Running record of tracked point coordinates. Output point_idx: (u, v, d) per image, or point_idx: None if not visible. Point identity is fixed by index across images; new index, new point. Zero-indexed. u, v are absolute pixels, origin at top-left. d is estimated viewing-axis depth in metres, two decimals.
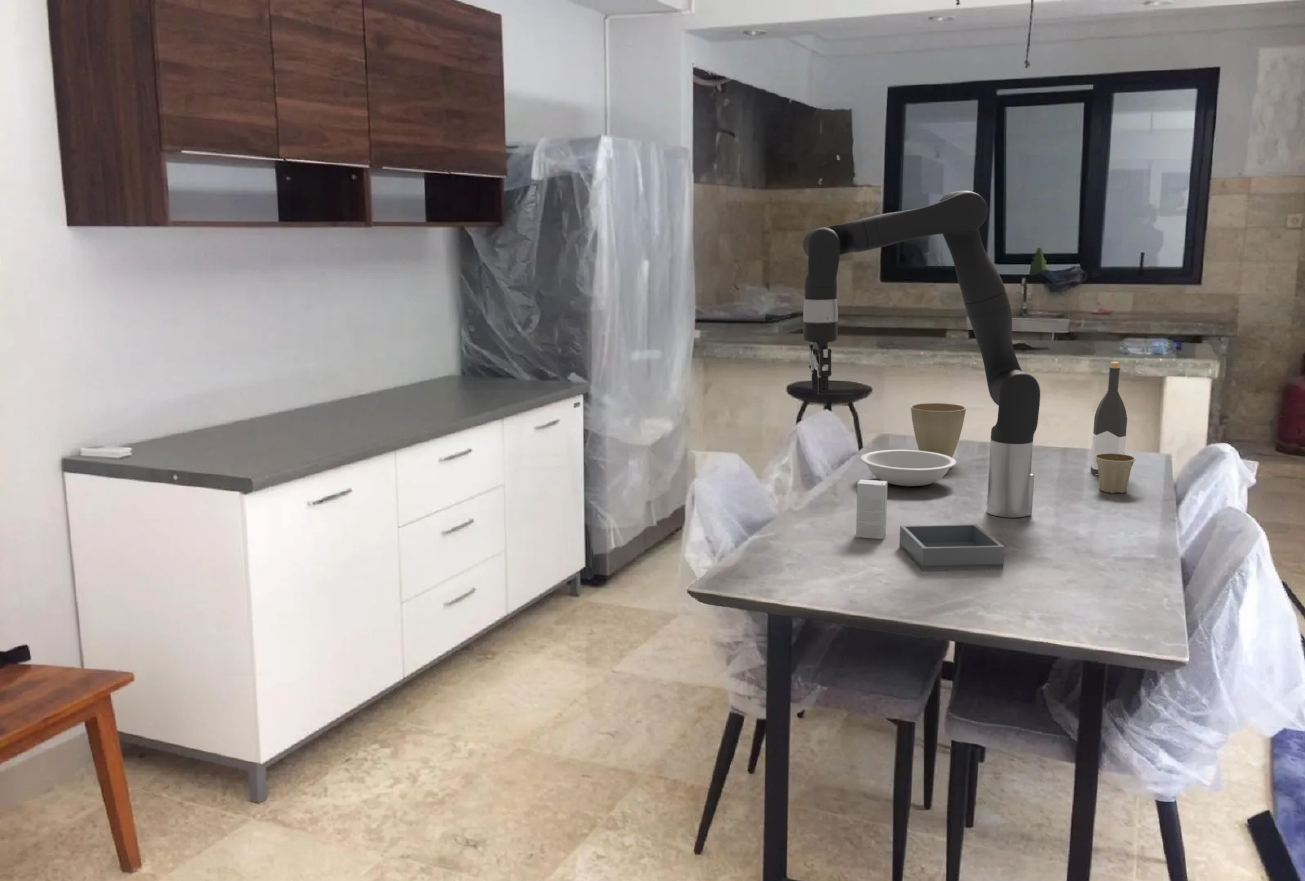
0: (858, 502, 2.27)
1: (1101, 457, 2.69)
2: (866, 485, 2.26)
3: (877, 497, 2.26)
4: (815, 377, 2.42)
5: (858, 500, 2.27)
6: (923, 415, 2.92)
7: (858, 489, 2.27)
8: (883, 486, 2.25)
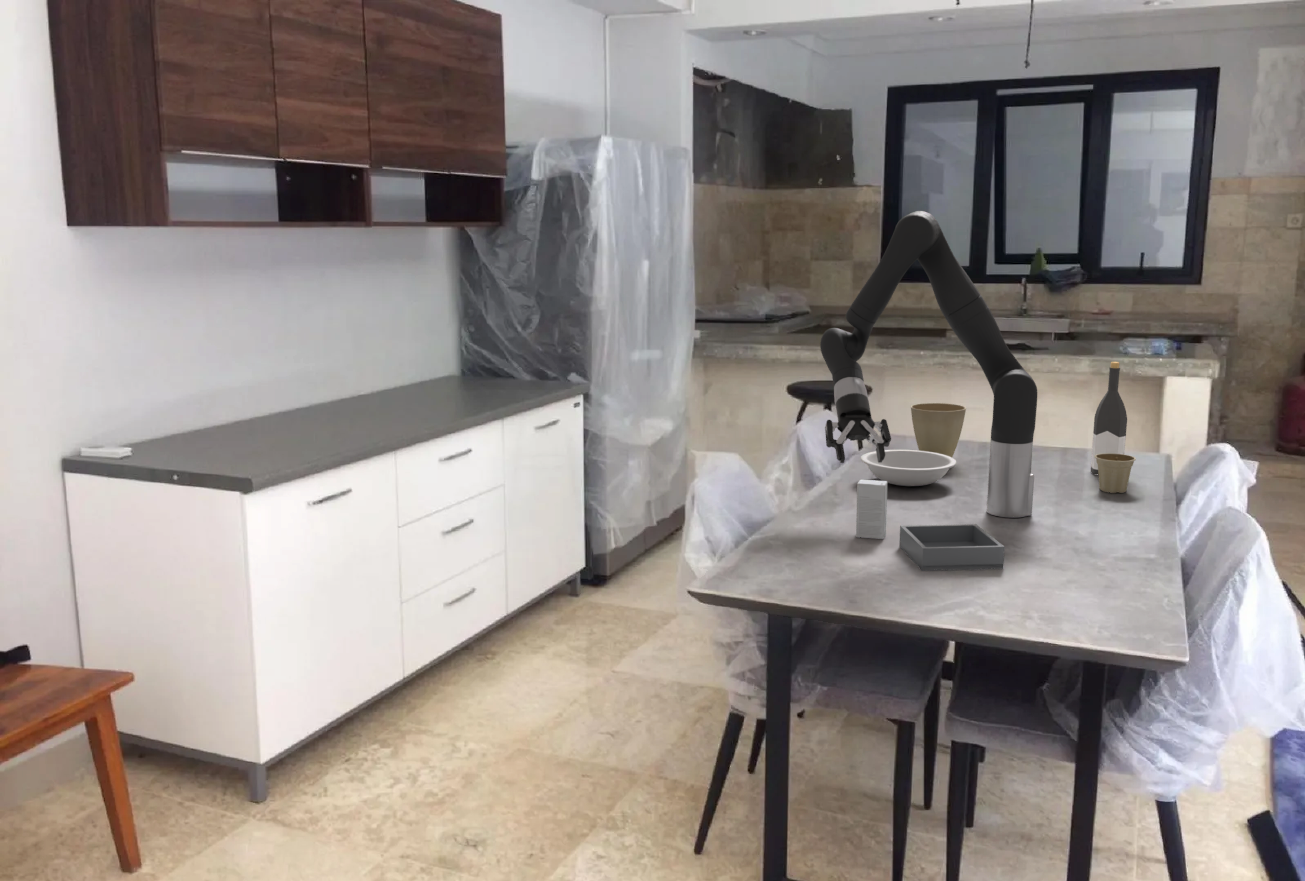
0: (858, 502, 2.27)
1: (1101, 457, 2.69)
2: (866, 485, 2.26)
3: (877, 497, 2.26)
4: (877, 450, 2.38)
5: (858, 500, 2.27)
6: (923, 415, 2.92)
7: (858, 489, 2.27)
8: (883, 486, 2.25)
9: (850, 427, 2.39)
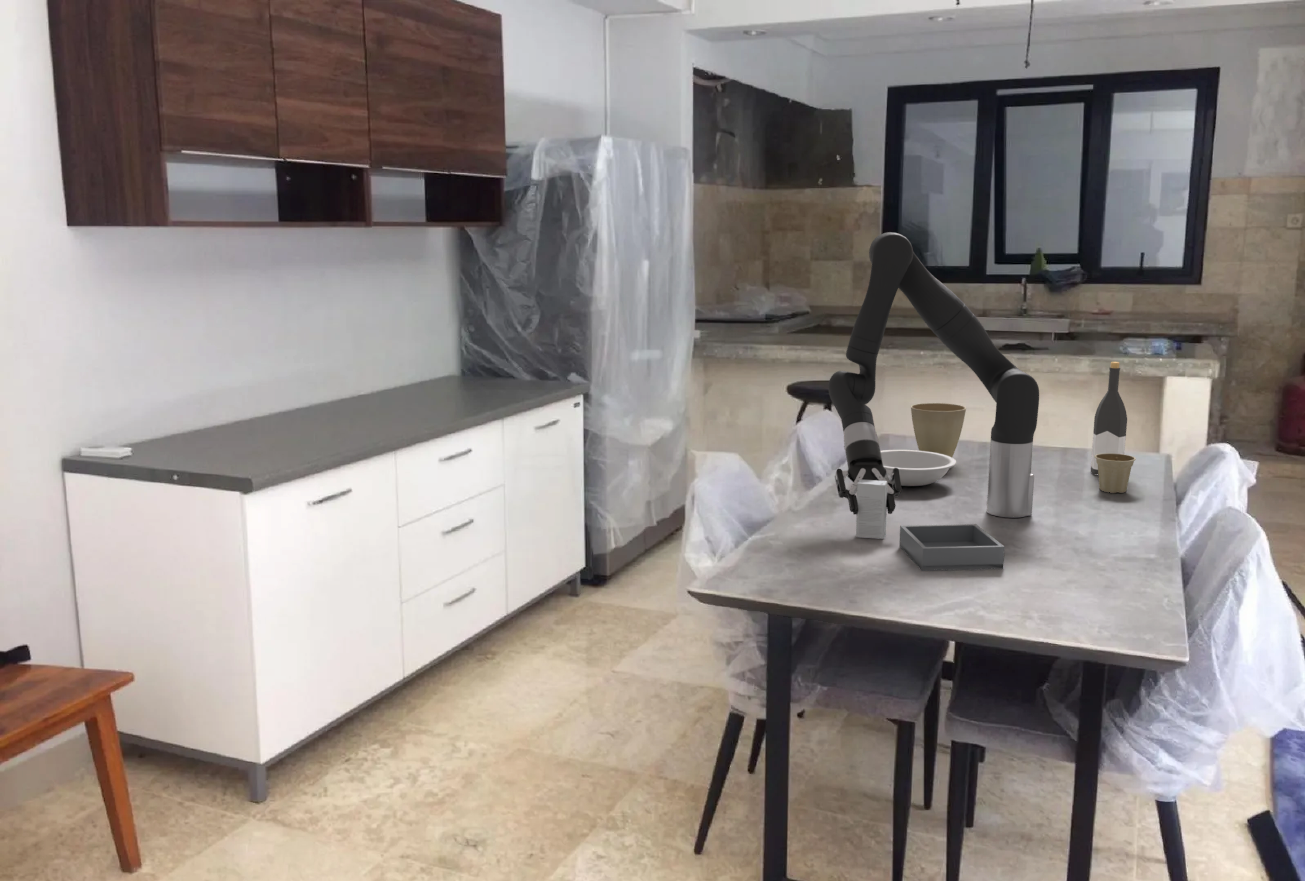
0: (858, 502, 2.27)
1: (1101, 457, 2.69)
2: (866, 485, 2.26)
3: (876, 497, 2.26)
4: None
5: (858, 500, 2.27)
6: (923, 415, 2.92)
7: (858, 489, 2.27)
8: (883, 486, 2.25)
9: (861, 475, 2.30)
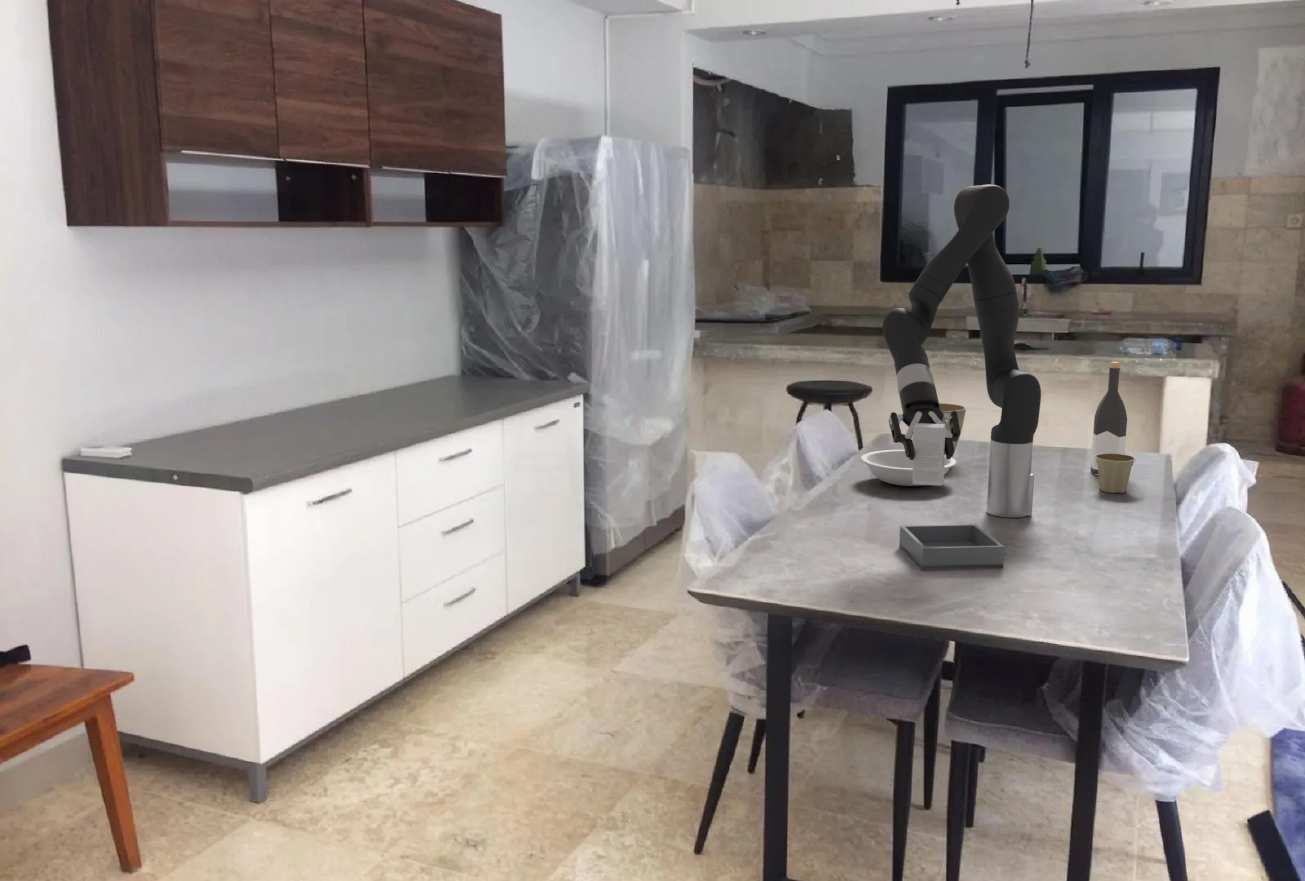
0: (914, 446, 2.14)
1: (1101, 457, 2.69)
2: (923, 428, 2.13)
3: (934, 441, 2.12)
4: (945, 446, 2.16)
5: (914, 444, 2.14)
6: None
7: (914, 433, 2.13)
8: (941, 429, 2.11)
9: (917, 419, 2.17)
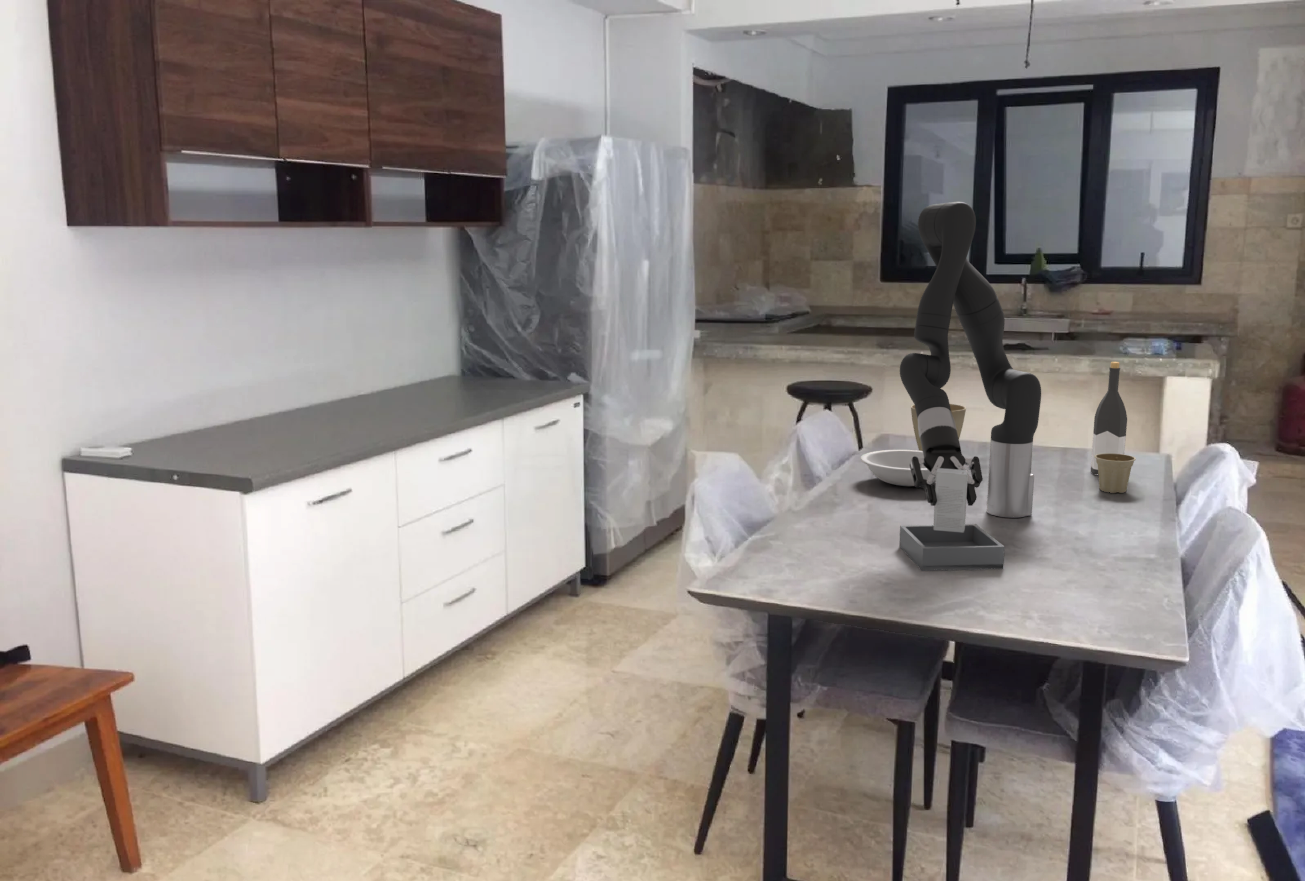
0: (937, 492, 2.11)
1: (1101, 457, 2.69)
2: (946, 474, 2.10)
3: (957, 488, 2.09)
4: None
5: (937, 490, 2.11)
6: None
7: (937, 478, 2.10)
8: (965, 475, 2.09)
9: (939, 464, 2.14)
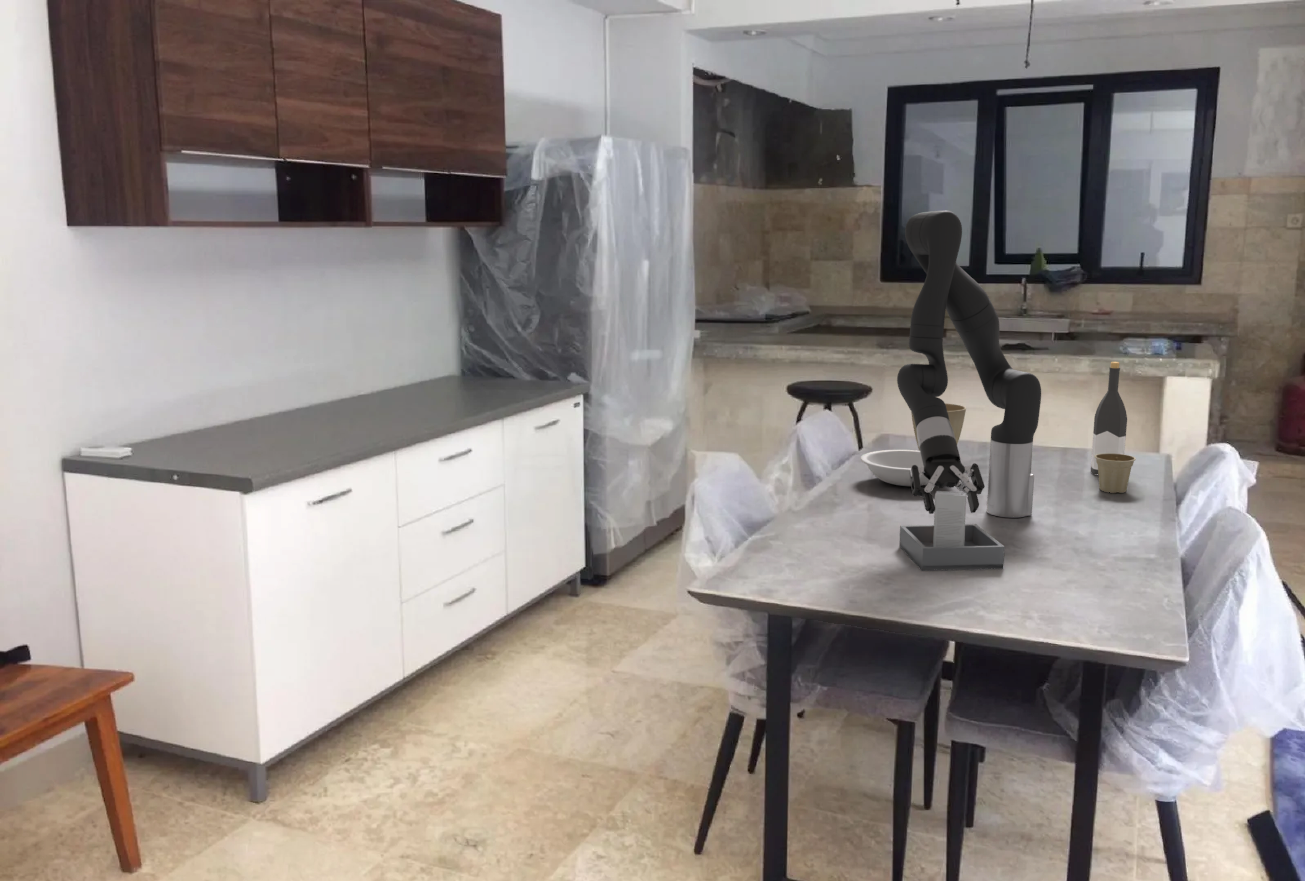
0: (936, 514, 2.12)
1: (1101, 457, 2.69)
2: (945, 496, 2.11)
3: (956, 509, 2.11)
4: (969, 499, 2.15)
5: (936, 512, 2.12)
6: None
7: (936, 500, 2.12)
8: (963, 497, 2.10)
9: (939, 473, 2.16)
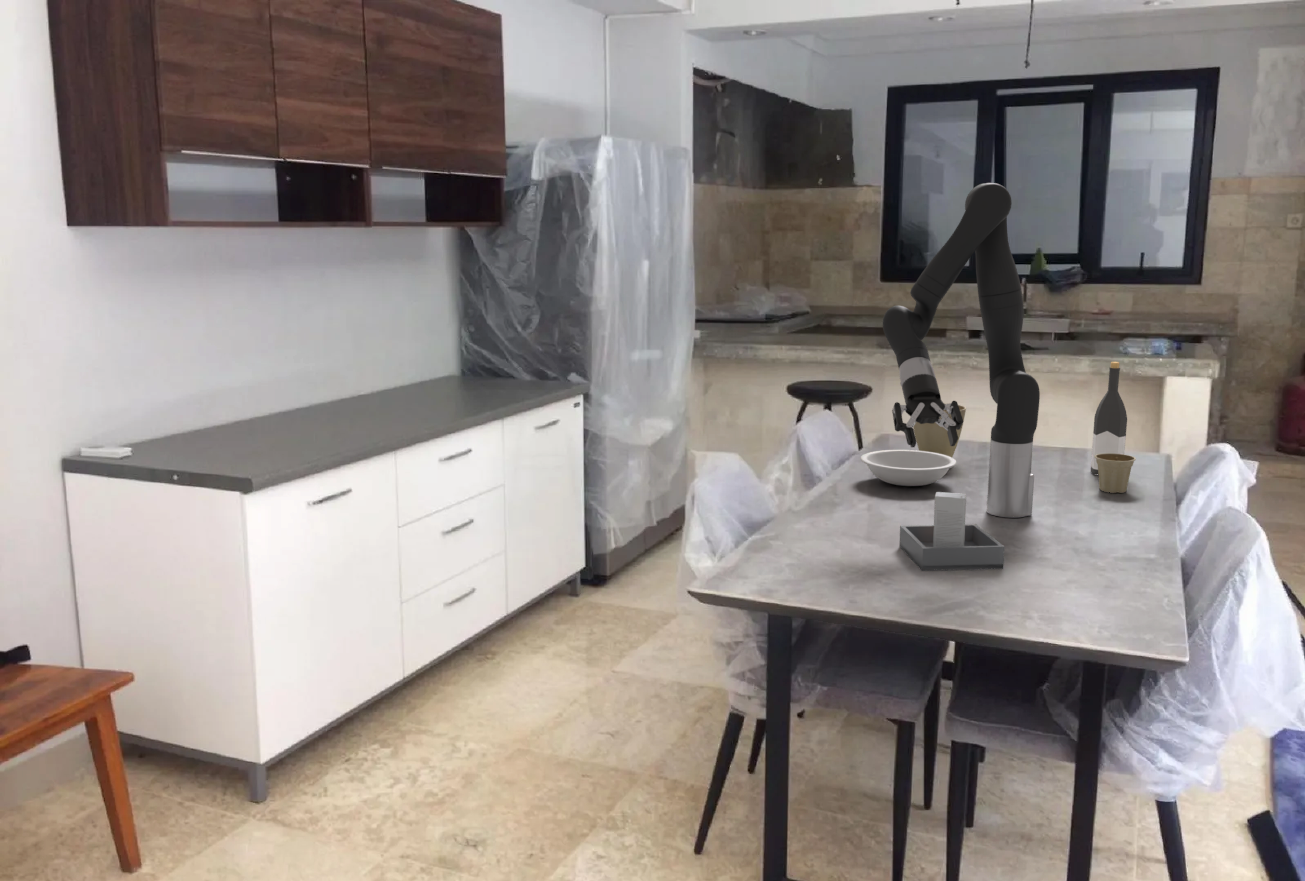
0: (936, 516, 2.12)
1: (1101, 457, 2.69)
2: (945, 498, 2.11)
3: (956, 511, 2.10)
4: (948, 433, 2.26)
5: (936, 514, 2.12)
6: None
7: (936, 502, 2.11)
8: (963, 499, 2.10)
9: (920, 410, 2.27)
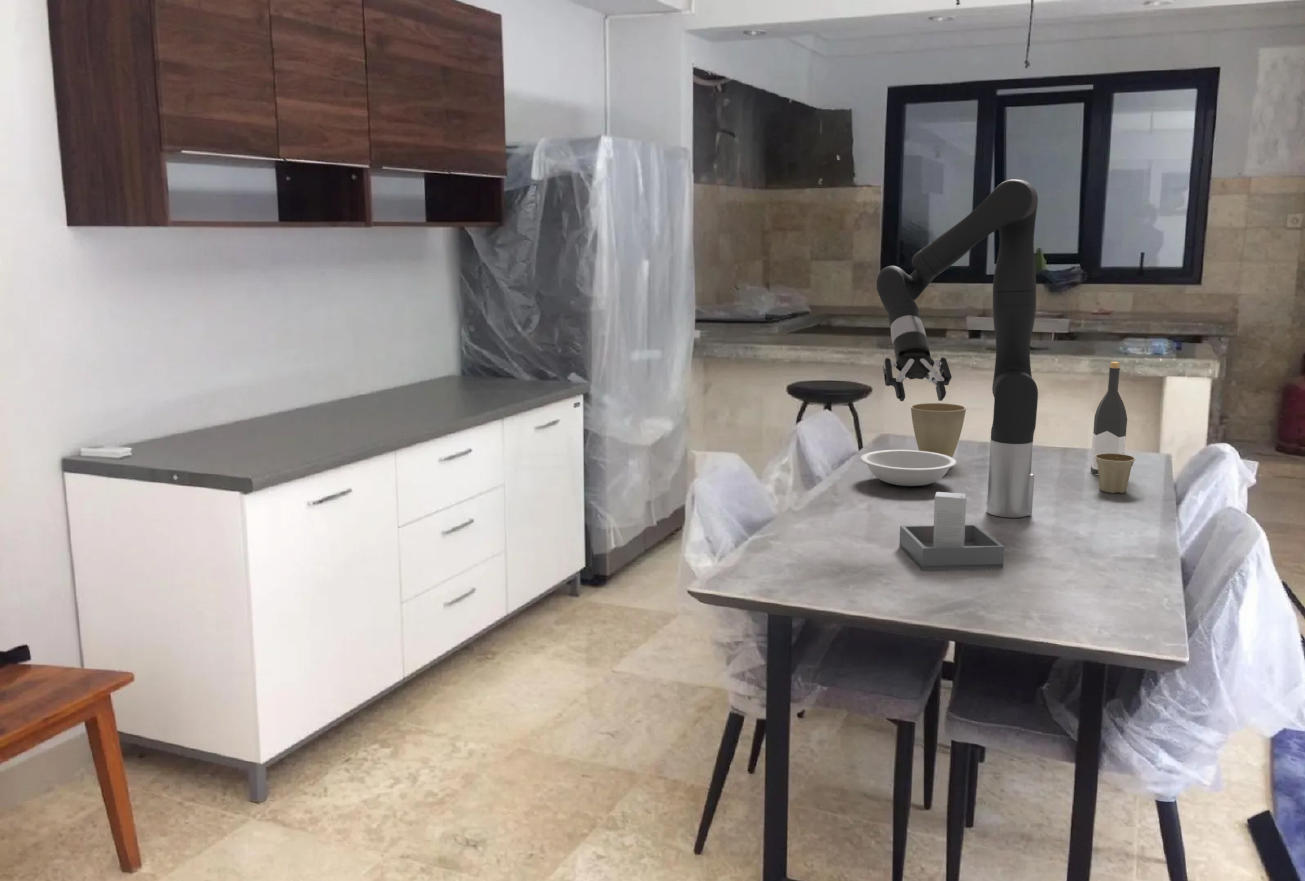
0: (936, 516, 2.12)
1: (1101, 457, 2.69)
2: (945, 498, 2.11)
3: (956, 511, 2.10)
4: (937, 389, 2.33)
5: (936, 514, 2.12)
6: (923, 415, 2.92)
7: (936, 502, 2.11)
8: (963, 499, 2.10)
9: (909, 365, 2.34)
